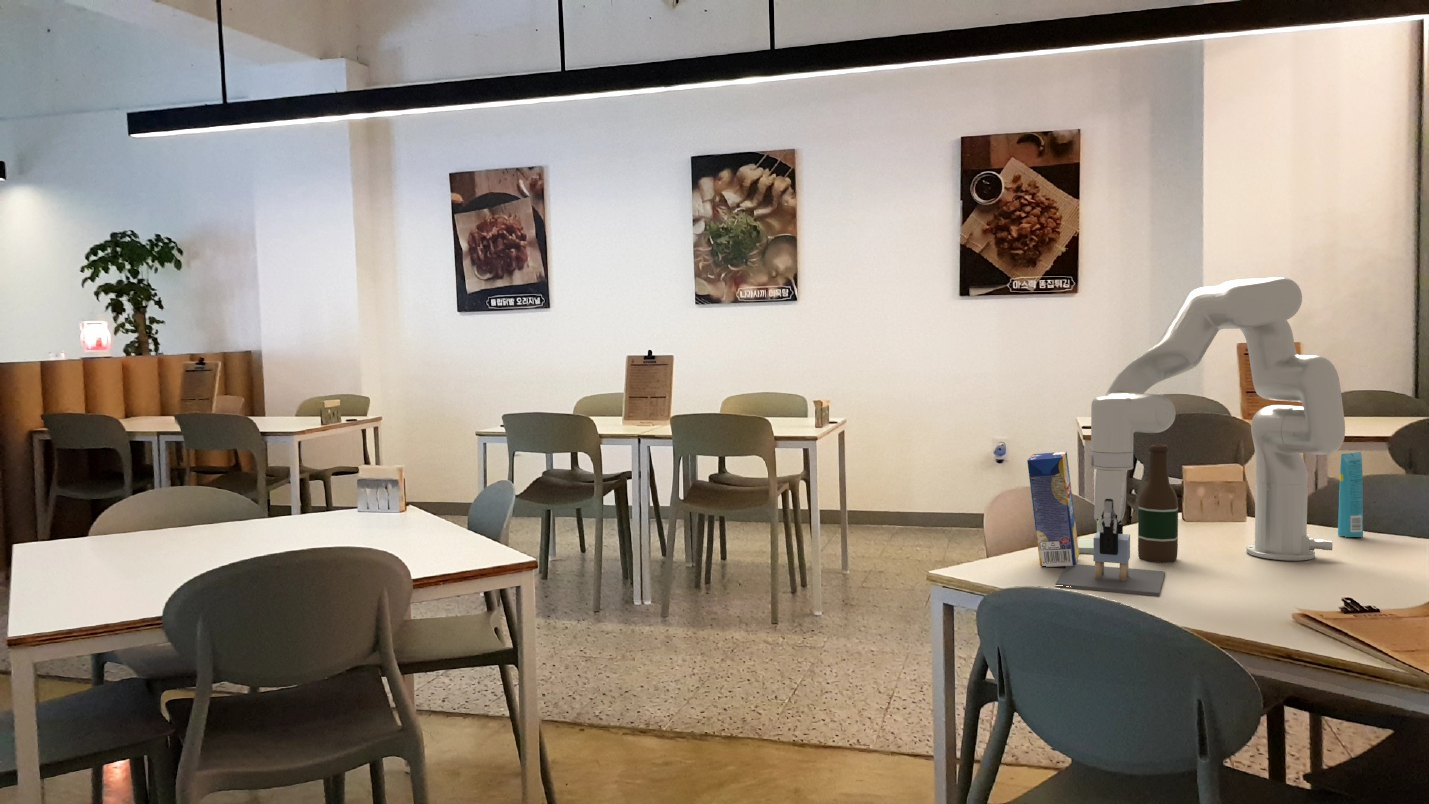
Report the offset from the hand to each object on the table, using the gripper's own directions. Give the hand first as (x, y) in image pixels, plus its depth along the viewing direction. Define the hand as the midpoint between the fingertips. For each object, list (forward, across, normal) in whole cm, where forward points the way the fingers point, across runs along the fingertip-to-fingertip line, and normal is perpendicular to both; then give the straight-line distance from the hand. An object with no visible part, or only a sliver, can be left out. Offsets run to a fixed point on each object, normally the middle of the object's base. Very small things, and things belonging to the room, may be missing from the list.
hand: (1111, 549), depth 194 cm
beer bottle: (+6, -23, +7) cm, 25 cm away
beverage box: (+6, -12, -11) cm, 17 cm away
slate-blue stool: (+6, 0, 0) cm, 6 cm away
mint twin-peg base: (+6, -28, -8) cm, 30 cm away
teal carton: (+6, -63, +45) cm, 78 cm away
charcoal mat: (+6, 0, 0) cm, 6 cm away
